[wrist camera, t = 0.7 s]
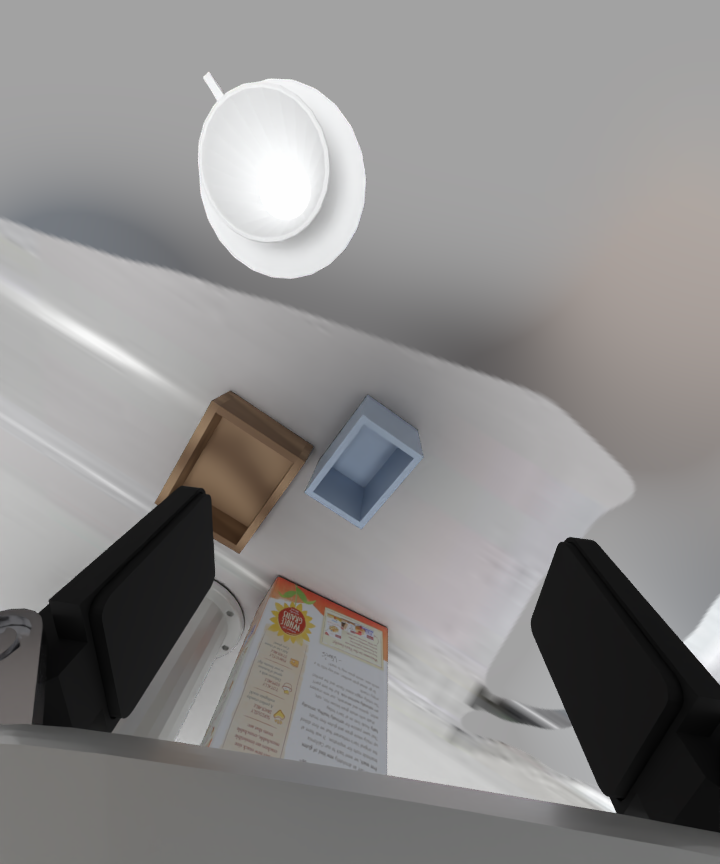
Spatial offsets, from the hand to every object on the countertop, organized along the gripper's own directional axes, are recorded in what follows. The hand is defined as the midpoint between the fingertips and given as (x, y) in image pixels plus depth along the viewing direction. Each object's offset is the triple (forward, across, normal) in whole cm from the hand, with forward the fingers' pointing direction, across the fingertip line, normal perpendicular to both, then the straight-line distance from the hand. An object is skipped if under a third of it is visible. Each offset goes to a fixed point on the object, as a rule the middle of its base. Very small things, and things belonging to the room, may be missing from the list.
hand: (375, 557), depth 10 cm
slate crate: (+22, +1, +6) cm, 23 cm away
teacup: (+23, +9, -13) cm, 28 cm away
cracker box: (+23, +4, +28) cm, 36 cm away
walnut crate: (+22, +13, +10) cm, 28 cm away
